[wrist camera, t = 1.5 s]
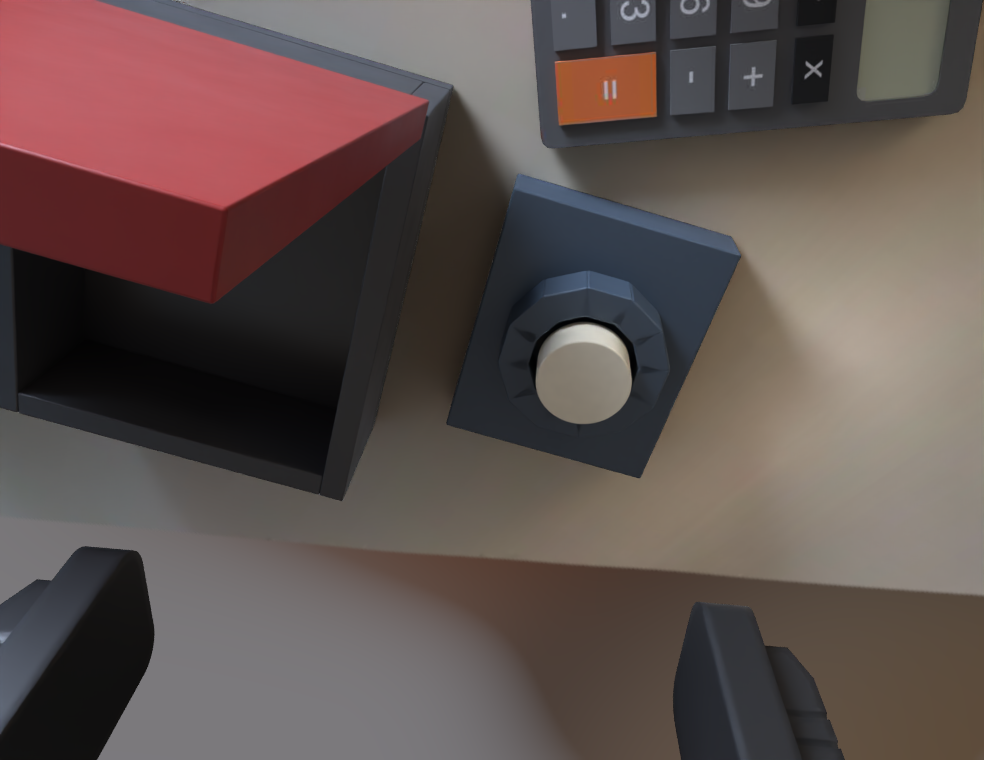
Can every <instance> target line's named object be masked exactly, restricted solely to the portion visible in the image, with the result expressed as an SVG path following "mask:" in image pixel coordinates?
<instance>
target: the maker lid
mask: <svg viewBox="0 0 984 760" xmlns="http://www.w3.org/2000/svg"><path fill="white" fill-rule="evenodd" d="M428 105H429V100H426V99H423V98H420V97H416V96H413V95H410V94H406V93H403V92H400V91H396V90H393V89H390V88H386V87H383V86H380V85H376V84H373V83H370V82H366V81H363V80H360V79H356V78H353V77H350V76H346V75H343V74H340V73H336V72H333V71H330V70H326V69H323V68H320V67H316V66H313V65H310V64H306V63H303V62H300V61H296V60H293V59H290V58H286V57H283V56H280V55H276V54H273V53H270V52H266V51H263V50H259V49H256V48H253V47H249V46H246V45H243V44H239V43H236V42H233V41H229V40H226V39H223V38H219V37H216V36H213V35H209V34H206V33H203V32H199V31H196V30H193V29H189V28H186V27H183V26H179V25H176V24H173V23H169V22H166V21H163V20H159V19H156V18H153V17H149V16H146V15H143V14H139V13H136V12H133V11H129V10H126V9H123V8H119V7H116V6H113V5H109V4H106V3H103V2H99V1H96V0H0V244H1V245H4V246H8V247H11V248H15V249H18V250H22V251H25V252H29V253H32V254H36V255H40V256H43V257H47V258H50V259H54V260H57V261H61V262H64V263H68V264H71V265H75V266H78V267H82V268H86V269H89V270H93V271H96V272H100V273H103V274H107V275H110V276H114V277H117V278H121V279H124V280H128V281H132V282H135V283H139V284H142V285H146V286H149V287H153V288H156V289H160V290H163V291H167V292H171V293H174V294H178V295H181V296H185V297H188V298H192V299H195V300H199V301H202V302H206V303H209V304H213V303H215V302H216V301H218V300H219V299H220V298H221V297H223V296H224V295H225V294H227V293H228V292H229V291H230V290H232V289H233V288H234V287H235V286H237V285H238V284H239V283H240V282H242V281H243V280H244V279H245V278H247V277H248V276H249V275H250V274H252V273H253V272H254V271H255V270H257V269H258V268H259V267H260V266H262V265H263V264H264V263H265V262H267V261H268V260H269V259H270V258H272V257H273V256H274V255H275V254H277V253H278V252H279V251H280V250H282V249H283V248H284V247H285V246H287V245H288V244H289V243H290V242H292V241H293V240H294V239H295V238H297V237H298V236H299V235H300V234H302V233H303V232H304V231H305V230H307V229H308V228H309V227H311V226H312V225H313V224H314V223H316V222H317V221H318V220H319V219H321V218H322V217H323V216H324V215H326V214H327V213H328V212H329V211H331V210H332V209H333V208H334V207H336V206H337V205H338V204H339V203H341V202H342V201H343V200H344V199H346V198H347V197H348V196H349V195H351V194H352V193H353V192H354V191H356V190H357V189H358V188H359V187H361V186H362V185H363V184H364V183H366V182H367V181H368V180H369V179H371V178H372V177H373V176H374V175H376V174H377V173H378V172H379V171H381V170H382V169H383V168H384V167H386V166H387V165H388V164H389V163H391V162H392V161H393V160H395V159H396V158H397V157H398V156H400V155H401V154H402V153H403V152H405V151H406V150H407V149H408V148H410V147H411V146H412V145H413V144H415V143H416V142H417V141H418V140H420V138H421V135H422V131H423V127H424V122H425V118H426V114H427V110H428Z"/></svg>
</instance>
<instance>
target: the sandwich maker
mask: <svg viewBox="0 0 984 760" xmlns="http://www.w3.org/2000/svg"><path fill="white" fill-rule="evenodd" d="M96 1H99V2H103V3H106V4H109V5H113V6H116V7H119V8H123V9H126V10H129V11H133V12H136V13H139V14H143V15H146V16H149V17H153V18H156V19H159V20H163V21H166V22H169V23H173V24H176V25H179V26H183V27H186V28H189V29H193V30H196V31H199V32H203V33H206V34H209V35H213V36H216V37H219V38H223V39H226V40H229V41H233V42H236V43H239V44H243V45H246V46H249V47H253V48H256V49H259V50H263V51H266V52H270V53H273V54H276V55H280V56H283V57H286V58H290V59H293V60H296V61H300V62H303V63H306V64H310V65H313V66H316V67H320V68H323V69H326V70H330V71H333V72H336V73H340V74H343V75H346V76H350V77H353V78H356V79H360V80H363V81H366V82H370V83H373V84H376V85H380V86H383V87H386V88H390V89H393V90H396V91H400V92H403V93H406V94H410V95H413V96H416V97H420V98H423V99H426V100H429V105H428V110H427V114H426V118H425V122H424V127H423V131H422V135H421V138H420V140H418V141H417V142H416V143H415V144H413V145H412V146H411V147H410V148H408V149H407V150H406V151H405V152H403V153H402V154H401V155H400V156H398V157H397V158H396V159H395V160H393V161H392V162H391V163H389V164H388V165H387V166H386V167H384V168H383V169H382V170H381V171H379V172H378V173H377V174H376V175H374V176H373V177H372V178H371V179H369V180H368V181H367V182H366V183H364V184H363V185H362V186H361V187H359V188H358V189H357V190H356V191H354V192H353V193H352V194H351V195H349V196H348V197H347V198H346V199H344V200H343V201H342V202H341V203H339V204H338V205H337V206H336V207H334V208H333V209H332V210H331V211H329V212H328V213H327V214H326V215H324V216H323V217H322V218H321V219H319V220H318V221H317V222H316V223H314V224H313V225H312V226H311V227H309V228H308V229H307V230H305V231H304V232H303V233H302V234H300V235H299V236H298V237H297V238H295V239H294V240H293V241H292V242H290V243H289V244H288V245H287V246H285V247H284V248H283V249H282V250H280V251H279V252H278V253H277V254H275V255H274V256H273V257H272V258H270V259H269V260H268V261H267V262H265V263H264V264H263V265H262V266H260V267H259V268H258V269H257V270H255V271H254V272H253V273H252V274H250V275H249V276H248V277H247V278H245V279H244V280H243V281H242V282H240V283H239V284H238V285H237V286H235V287H234V288H233V289H232V290H230V291H229V292H228V293H227V294H225V295H224V296H223V297H221V298H220V299H219V300H218V301H216V302H215V303H213V304H209V303H206V302H202V301H199V300H195V299H192V298H188V297H185V296H181V295H178V294H174V293H171V292H167V291H163V290H160V289H156V288H153V287H149V286H146V285H142V284H139V283H135V282H132V281H128V280H124V279H121V278H117V277H114V276H110V275H107V274H103V273H100V272H96V271H93V270H89V269H86V268H82V267H78V266H75V265H71V264H68V263H64V262H61V261H57V260H54V259H50V258H47V257H43V256H40V255H36V254H32V253H29V252H25V251H22V250H18V249H15V248H11V247H8V246H4V245H1V244H0V408H3V409H7V410H11V411H14V412H19V413H21V414H25V415H28V416H32V417H36V418H39V419H43V420H47V421H50V422H54V423H58V424H61V425H65V426H69V427H72V428H76V429H80V430H83V431H87V432H91V433H94V434H98V435H102V436H105V437H109V438H113V439H116V440H120V441H124V442H127V443H131V444H135V445H138V446H142V447H146V448H149V449H153V450H157V451H160V452H164V453H168V454H171V455H175V456H179V457H182V458H186V459H190V460H193V461H197V462H201V463H204V464H208V465H212V466H215V467H219V468H223V469H226V470H230V471H234V472H237V473H241V474H245V475H248V476H252V477H256V478H259V479H263V480H267V481H270V482H274V483H278V484H281V485H285V486H289V487H293V488H296V489H300V490H304V491H307V492H311V493H315V494H319V493H320V495H321V496H325V497H329V498H332V499H336V500H340V501H342V500H343V499H344V496H345V494H346V492H347V489H348V487H349V484H350V482H351V479H352V477H353V475H354V472H355V470H356V467H357V465H358V463H359V460H360V458H361V455H362V453H363V450H364V448H365V446H366V443H367V441H368V438H369V436H370V434H371V431H372V429H373V426H374V424H375V420H376V415H377V411H378V407H379V402H380V398H381V394H382V390H383V385H384V381H385V377H386V373H387V368H388V364H389V360H390V356H391V351H392V347H393V343H394V338H395V334H396V330H397V326H398V321H399V317H400V313H401V309H402V304H403V300H404V296H405V292H406V287H407V283H408V279H409V274H410V270H411V266H412V262H413V257H414V253H415V249H416V245H417V240H418V236H419V232H420V228H421V223H422V219H423V215H424V210H425V206H426V202H427V198H428V193H429V189H430V185H431V181H432V176H433V172H434V168H435V164H436V159H437V155H438V151H439V146H440V142H441V138H442V134H443V129H444V125H445V121H446V117H447V112H448V108H449V104H450V100H451V95H452V91H453V85H451V84H447V83H444V82H441V81H437V80H434V79H431V78H427V77H424V76H421V75H417V74H414V73H411V72H408V71H404V70H401V69H398V68H394V67H391V66H388V65H384V64H381V63H378V62H374V61H371V60H368V59H364V58H361V57H358V56H354V55H351V54H348V53H344V52H341V51H338V50H334V49H331V48H328V47H324V46H321V45H318V44H314V43H311V42H308V41H305V40H301V39H298V38H295V37H291V36H288V35H285V34H281V33H278V32H275V31H271V30H268V29H265V28H261V27H258V26H255V25H251V24H248V23H245V22H241V21H238V20H235V19H231V18H228V17H225V16H221V15H218V14H215V13H211V12H208V11H205V10H202V9H198V8H195V7H192V6H188V5H185V4H182V3H178V2H175V1H172V0H96Z"/></svg>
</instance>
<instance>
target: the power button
mask: <svg viewBox="0 0 984 760" xmlns="http://www.w3.org/2000/svg"><path fill="white" fill-rule="evenodd" d="M631 387H632V377H631V369H630V361H629V354H628V351H627V348H626V346H625V344H624V342H623V341H622V339H621V338H620V337H619V336H618V335H617V334H616V333H615V332H613V331H612V330H611V329H609V328H607V327H605V326H603V325H600V324H597V323H592V322H575V323H571V324H567V325H565V326H562V327H560V328H558V329H557V330H555V331H554V332H552V333H551V334H550V335H549V336H548V337H547V338H546V340H545V341H544V342H543V344H542V346H541V348H540V350H539V354H538V360H537V370H536V390H537V394H538V397H539V399H540V401H541V402H542V404H543V405H544V406H545V408H546V409H547V410H548V411H549V412H551V413H552V414H553V415H555V416H556V417H558V418H560V419H562V420H564V421H567V422H571V423H576V424H591V423H596V422H600V421H603V420H605V419H607V418H609V417H611V416H613V415H614V414H615V413H617V412H618V411H619V410H620V409H621V408H622V407H623V405H624V404H625V403H626V401H627V399H628V397H629V395H630V392H631Z"/></svg>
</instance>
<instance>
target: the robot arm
mask: <svg viewBox="0 0 984 760" xmlns="http://www.w3.org/2000/svg"><path fill="white" fill-rule="evenodd" d="M153 643H154V624H153V619H152V613H151V607H150V601H149V596H148V589H147V584H146V578H145V572H144V566H143V561H142V558H141V556H140V554H139V553H138V552H137V551H133V550H121V549H110V548H99V547H87V546H85V547H81V548H79V549H77V550H76V551H75V552H74V553H73V554H72V555H71V557H70V558H69V559H68V561H67V562H66V563H65V564H64V566H63V567H62V568H61V569H60V571H59V572H58V573H57V575H56V576H55V577H54V579H53V580H52V581H49V580H36V581H34V582H33V583H31V584H30V585H28V586H27V587H25V588H24V589H22V590H21V591H19V592H18V593H16V594H15V595H14V596H12V597H11V598H9V599H8V600H6V601H5V602H3V603H2V604H1V605H0V760H97V759H98V757H99V755H100V753H101V752H102V750H103V748H104V746H105V744H106V743H107V741H108V739H109V737H110V735H111V734H112V732H113V730H114V728H115V726H116V724H117V723H118V720H119V719H120V717H121V715H122V714H123V712H124V710H125V708H126V706H127V704H128V703H129V701H130V699H131V697H132V695H133V694H134V692H135V690H136V688H137V686H138V685H139V683H140V681H141V679H142V677H143V676H144V673H145V672H146V669H147V667H148V664H149V661H150V658H151V654H152V650H153ZM673 692H674V693H673V711H674V721H675V727H676V733H677V738H678V744H679V749H680V755H681V760H845V759H844V756H843V754H842V751H841V749H838V745H837V743H838V740H837V738H836V735H835V733H834V730H833V728H832V725H831V722H830V720H827V712H826V709H825V707H824V704H823V702H822V699H821V696H820V694H819V691H818V688H817V686H816V683H815V681H814V678H813V677H812V676H811V675H810V674H809V672H808V671H807V670H806V669H805V668H804V667H803V666H802V664H801V663H800V662H799V661H798V659H797V658H796V657H795V656H794V655H793V654H792V653H791V651H790V650H789V649H788V648H785V647H773V646H764V643H763V640H762V637H761V634H760V631H759V627H758V624H757V621H756V618H755V616H754V613H753V611H752V609H751V608H750V607H748V606H739V605H727V604H716V603H705V602H696V603H695V604H694V606H693V608H692V611H691V614H690V618H689V622H688V626H687V630H686V634H685V639H684V643H683V647H682V651H681V655H680V659H679V663H678V667H677V671H676V676H675V681H674V691H673Z"/></svg>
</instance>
